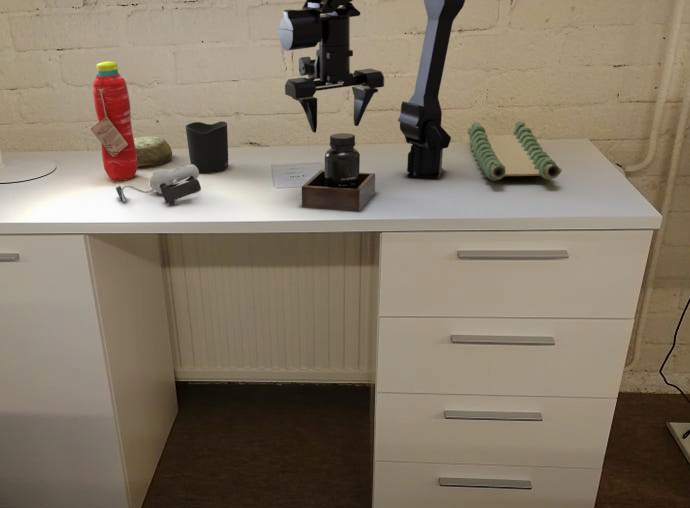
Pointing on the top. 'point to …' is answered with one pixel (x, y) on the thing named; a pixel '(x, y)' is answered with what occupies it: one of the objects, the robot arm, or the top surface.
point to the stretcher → (511, 154)
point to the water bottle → (114, 122)
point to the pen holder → (208, 146)
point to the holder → (337, 193)
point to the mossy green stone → (152, 151)
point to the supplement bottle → (342, 162)
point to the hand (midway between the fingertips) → (335, 128)
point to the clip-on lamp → (171, 183)
